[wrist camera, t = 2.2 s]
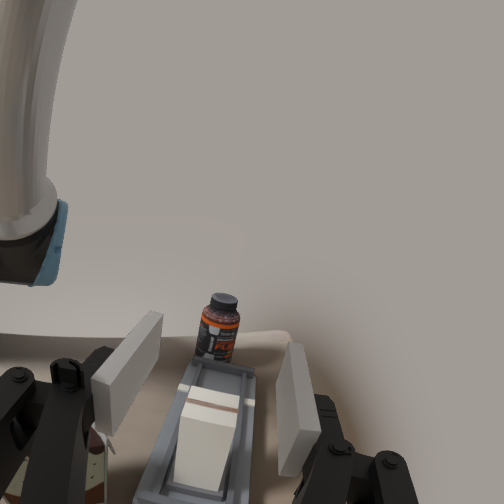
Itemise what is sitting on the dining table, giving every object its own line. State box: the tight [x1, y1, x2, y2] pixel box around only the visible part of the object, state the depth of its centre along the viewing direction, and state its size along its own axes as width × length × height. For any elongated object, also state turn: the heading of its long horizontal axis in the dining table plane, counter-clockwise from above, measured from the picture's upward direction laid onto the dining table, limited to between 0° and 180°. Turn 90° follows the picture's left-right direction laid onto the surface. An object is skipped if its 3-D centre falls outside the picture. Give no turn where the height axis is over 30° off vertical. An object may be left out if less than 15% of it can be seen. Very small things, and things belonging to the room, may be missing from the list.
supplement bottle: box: [195, 293, 240, 363], centre depth 49 cm, size 6×6×11 cm
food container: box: [2, 422, 116, 504], centre depth 18 cm, size 12×6×10 cm, turn 127°
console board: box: [132, 355, 256, 504], centre depth 32 cm, size 10×26×3 cm, turn 177°
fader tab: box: [166, 385, 240, 502], centre depth 23 cm, size 5×5×10 cm
